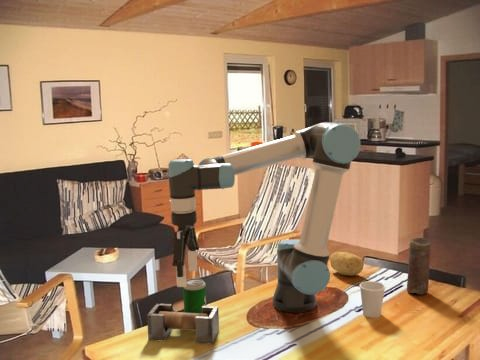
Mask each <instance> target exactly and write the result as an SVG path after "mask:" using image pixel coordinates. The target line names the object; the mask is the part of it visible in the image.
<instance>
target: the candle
mask: <svg viewBox="0 0 480 360" xmlns="http://www.w3.org/2000/svg"><path fill="white" fill-rule="evenodd" d="M431 245H432V242H431V241H430V240H429V239H428V238H423V237H413V238H412V239H410V241H409V249H408V250H409V253H408V268H407V269H408V270H407V278H406V280H407V282H406V291H407V292H408V293H412V294H414V293H417V294H416V295H418V294H421V295H423V294H426V293H428V292H429V283H430V282H429V280H430V263H431V262H430V261H431Z"/></svg>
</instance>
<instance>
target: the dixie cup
mask: <svg viewBox="0 0 480 360" xmlns="http://www.w3.org/2000/svg"><path fill="white" fill-rule="evenodd" d="M359 288H360V289H359V290H360V297H361V307H362V315H363V316H364V317H367V318H371V319H375V318H377V319H378V318H380V317H381V315H382V308H383V301H384V295H385V289H386V288H387V287H386V285H385V284H384V283H382V282H379V281H374V280H373V281H372V280H369V281H367V280H365V281H362V282H361V283H359Z"/></svg>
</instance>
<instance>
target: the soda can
mask: <svg viewBox="0 0 480 360" xmlns="http://www.w3.org/2000/svg"><path fill="white" fill-rule="evenodd" d="M186 285H187V286H186V287H182V293H183V313H202V306H207V287H206V286H207V284H206V282H205V281H204V280H203V279H201V278H189V279H186Z"/></svg>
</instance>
